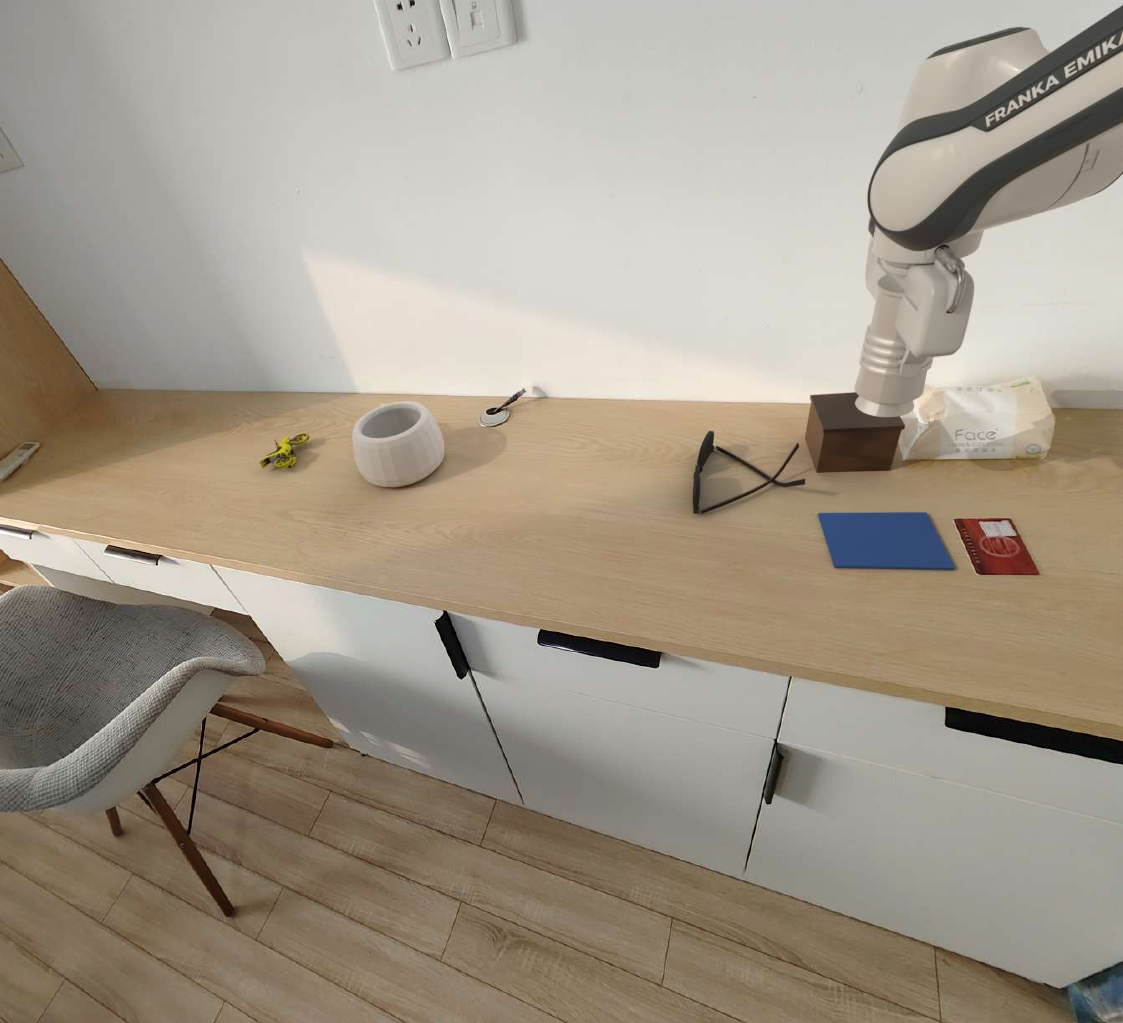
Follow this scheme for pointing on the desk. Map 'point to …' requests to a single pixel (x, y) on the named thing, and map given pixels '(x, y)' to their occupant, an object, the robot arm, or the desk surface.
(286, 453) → the toy motorcycle
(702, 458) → the sunglasses
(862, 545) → the cloth
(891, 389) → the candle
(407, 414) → the white plant pot
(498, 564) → the desk surface
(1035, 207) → the robot arm
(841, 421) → the box
